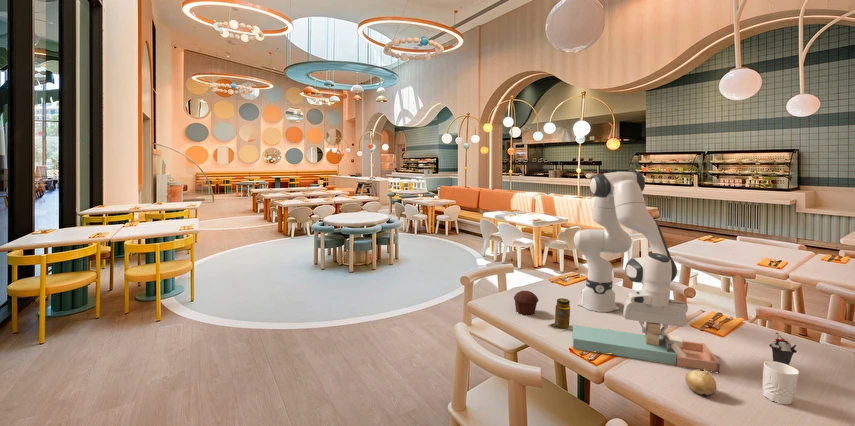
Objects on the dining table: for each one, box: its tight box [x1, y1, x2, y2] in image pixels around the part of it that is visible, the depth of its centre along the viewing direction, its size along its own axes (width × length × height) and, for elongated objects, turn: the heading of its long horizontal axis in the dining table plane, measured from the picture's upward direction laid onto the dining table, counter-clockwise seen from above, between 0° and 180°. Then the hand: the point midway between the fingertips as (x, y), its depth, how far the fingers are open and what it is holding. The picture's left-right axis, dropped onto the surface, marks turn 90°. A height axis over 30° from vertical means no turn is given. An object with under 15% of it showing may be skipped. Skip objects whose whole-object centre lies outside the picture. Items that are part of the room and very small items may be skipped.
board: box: [572, 324, 677, 366], centre depth 149 cm, size 14×34×4 cm, turn 70°
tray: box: [675, 339, 721, 374], centre depth 141 cm, size 16×12×4 cm
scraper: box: [644, 322, 671, 352], centre depth 144 cm, size 12×7×8 cm, turn 160°
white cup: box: [761, 360, 800, 405], centre depth 117 cm, size 8×8×10 cm
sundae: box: [768, 332, 798, 366], centre depth 129 cm, size 7×7×15 cm
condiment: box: [547, 297, 573, 332], centre depth 168 cm, size 7×8×12 cm
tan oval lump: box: [685, 368, 717, 396], centre depth 120 cm, size 8×8×7 cm
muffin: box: [513, 290, 539, 316], centre depth 185 cm, size 12×11×10 cm
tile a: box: [666, 334, 683, 347], centre depth 145 cm, size 5×5×2 cm
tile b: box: [671, 343, 688, 357], centre depth 139 cm, size 5×5×2 cm
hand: (652, 333), depth 145 cm, fingers closed on scraper, 4 cm apart
